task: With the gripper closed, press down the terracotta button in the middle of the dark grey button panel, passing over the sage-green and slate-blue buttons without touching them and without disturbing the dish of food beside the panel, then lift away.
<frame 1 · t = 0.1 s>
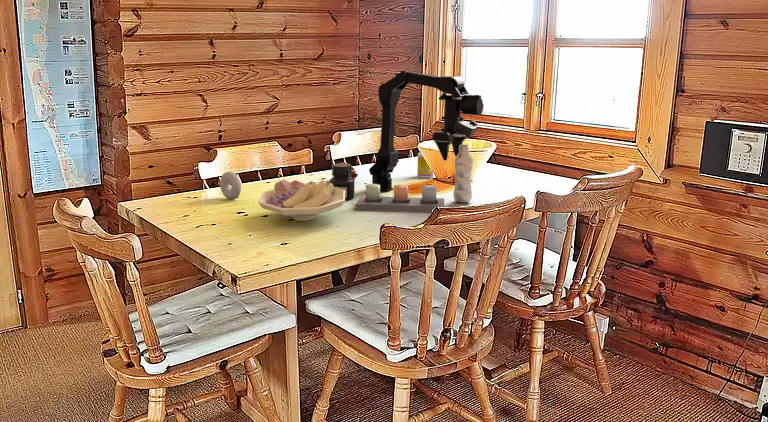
hand: (451, 158, 238), 15 cm above the table, tool pointing down, fingers open, 9 cm apart
donut: (231, 199, 239), on the table
dish with food: (303, 218, 215), on the table
dragon fruit: (345, 183, 268), on the table
plastic bottle: (462, 202, 237), on the table
sage button: (372, 191, 230), point 5 cm above the table, slide at 0.0 cm
terracotta button: (400, 192, 229), point 5 cm above the table, slide at 0.0 cm
supplement bottle: (425, 177, 279), on the table
button panel: (400, 206, 230), on the table
ink bottle: (341, 198, 242), on the table
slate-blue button: (429, 193, 228), point 5 cm above the table, slide at 0.0 cm
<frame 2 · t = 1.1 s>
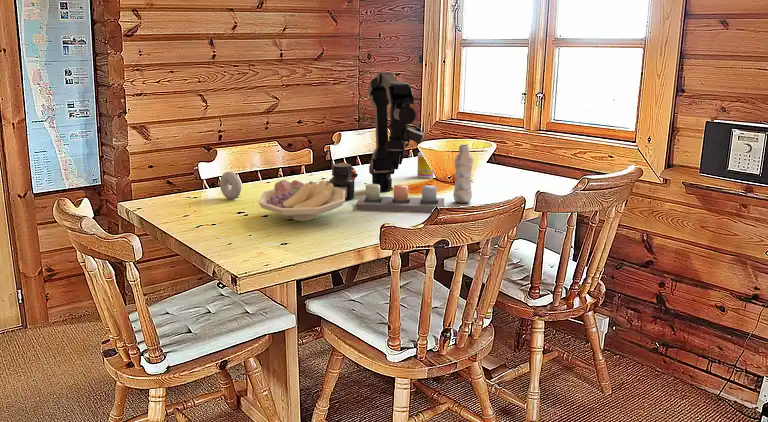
hand: (398, 166, 231), 13 cm above the table, tool pointing down, fingers open, 9 cm apart
nothing on the table moved.
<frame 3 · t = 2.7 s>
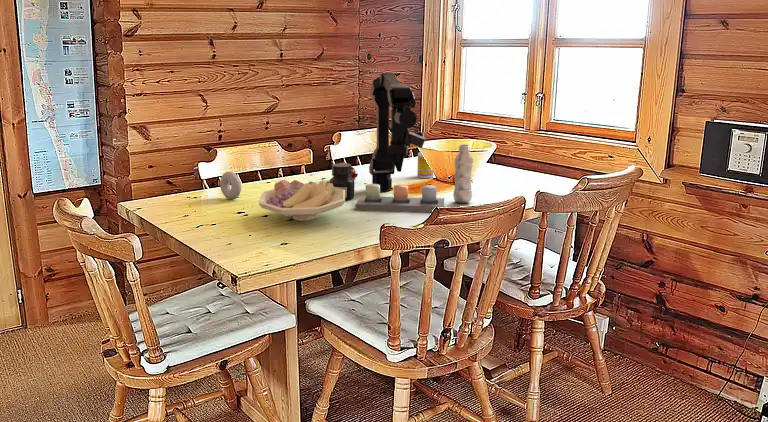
hand: (399, 171, 227), 12 cm above the table, tool pointing down, fingers closed
nothing on the table moved.
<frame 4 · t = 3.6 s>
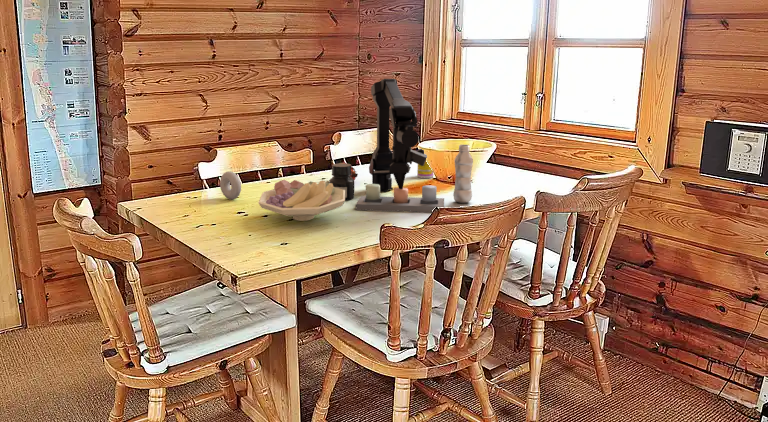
hand: (400, 188, 229), 6 cm above the table, tool pointing down, fingers closed, pressing on terracotta button
terracotta button: (400, 195, 229), point 4 cm above the table, slide at 1.0 cm, touching gripper
everything else where it was.
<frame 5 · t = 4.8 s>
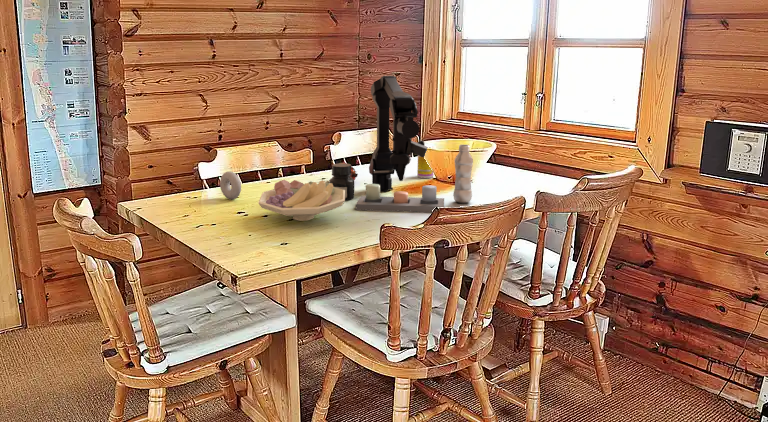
hand: (401, 180, 228), 9 cm above the table, tool pointing down, fingers closed
terracotta button: (400, 199, 229), point 3 cm above the table, slide at 2.3 cm
everything else where it was.
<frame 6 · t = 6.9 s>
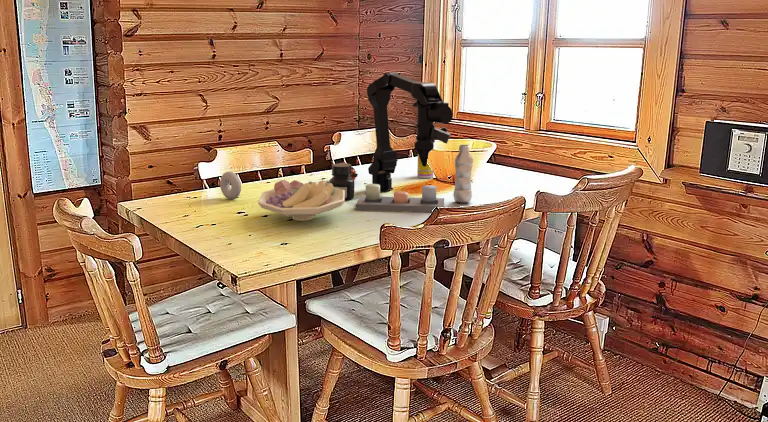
hand: (424, 166, 235), 13 cm above the table, tool pointing down, fingers closed
nothing on the table moved.
at the end: terracotta button slide at 2.3 cm; sage button slide at 0.0 cm; dish with food moved 0.3 cm from its start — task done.
